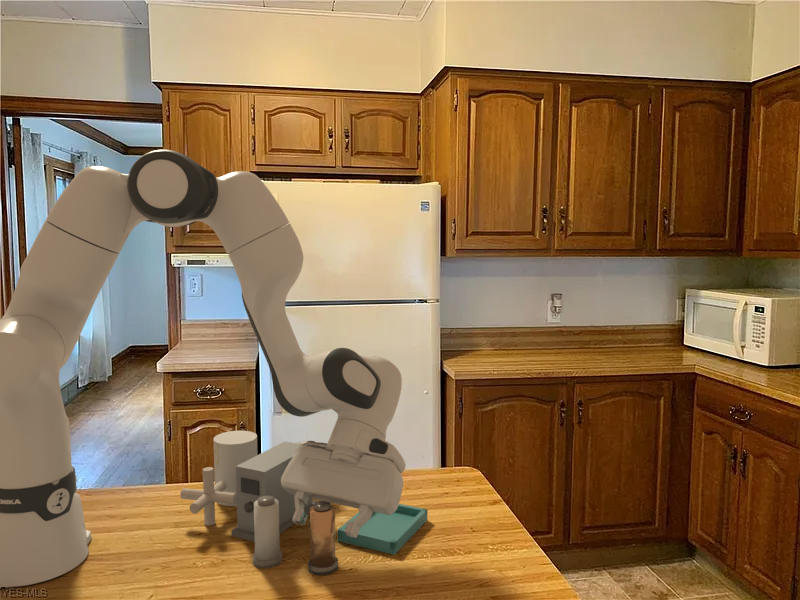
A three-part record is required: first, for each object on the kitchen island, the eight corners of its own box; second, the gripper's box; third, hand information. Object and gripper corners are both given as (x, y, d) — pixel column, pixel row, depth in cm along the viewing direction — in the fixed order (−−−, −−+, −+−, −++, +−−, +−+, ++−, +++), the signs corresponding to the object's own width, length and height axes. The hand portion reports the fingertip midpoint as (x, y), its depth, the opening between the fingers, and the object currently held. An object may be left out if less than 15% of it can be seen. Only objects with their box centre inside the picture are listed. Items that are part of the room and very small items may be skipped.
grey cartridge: (246, 564, 100) (244, 502, 99) (264, 550, 104) (263, 491, 103) (270, 571, 98) (269, 507, 97) (288, 557, 102) (287, 496, 101)
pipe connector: (222, 539, 108) (220, 482, 106) (168, 533, 110) (166, 477, 108) (248, 513, 117) (246, 461, 116) (198, 508, 119) (196, 456, 118)
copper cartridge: (302, 571, 98) (301, 508, 97) (318, 557, 102) (317, 496, 101) (328, 578, 96) (327, 513, 95) (343, 563, 100) (343, 501, 99)
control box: (231, 535, 109) (229, 467, 107) (286, 499, 123) (285, 439, 122) (265, 544, 106) (263, 474, 105) (317, 506, 120) (316, 444, 119)
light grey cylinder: (226, 487, 129) (224, 429, 128) (264, 490, 128) (263, 431, 126) (207, 504, 121) (205, 442, 120) (248, 507, 120) (246, 445, 119)
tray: (337, 540, 107) (337, 529, 107) (374, 508, 119) (374, 498, 119) (394, 554, 103) (394, 542, 102) (427, 520, 115) (427, 509, 115)
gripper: (293, 430, 108) (259, 508, 100) (403, 448, 100) (374, 535, 92) (308, 447, 113) (276, 523, 105) (415, 466, 104) (388, 550, 96)
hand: (323, 529), depth 98 cm, fingers open, 8 cm apart
